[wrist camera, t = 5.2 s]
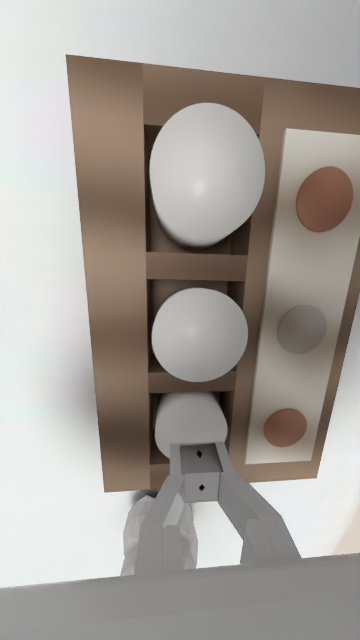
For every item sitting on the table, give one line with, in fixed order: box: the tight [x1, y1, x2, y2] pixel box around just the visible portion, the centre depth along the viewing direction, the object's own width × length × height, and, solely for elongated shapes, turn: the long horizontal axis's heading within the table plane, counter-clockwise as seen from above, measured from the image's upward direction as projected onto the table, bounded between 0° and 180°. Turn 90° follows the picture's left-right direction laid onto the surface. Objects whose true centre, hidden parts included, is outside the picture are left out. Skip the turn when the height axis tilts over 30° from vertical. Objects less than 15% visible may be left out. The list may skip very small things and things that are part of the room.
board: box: [66, 55, 360, 492], centre depth 12 cm, size 24×16×4 cm, turn 179°
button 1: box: [155, 391, 227, 458], centre depth 13 cm, size 5×5×3 cm
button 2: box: [150, 103, 265, 250], centre depth 9 cm, size 5×5×3 cm
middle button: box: [152, 287, 248, 382], centre depth 10 cm, size 5×5×3 cm
